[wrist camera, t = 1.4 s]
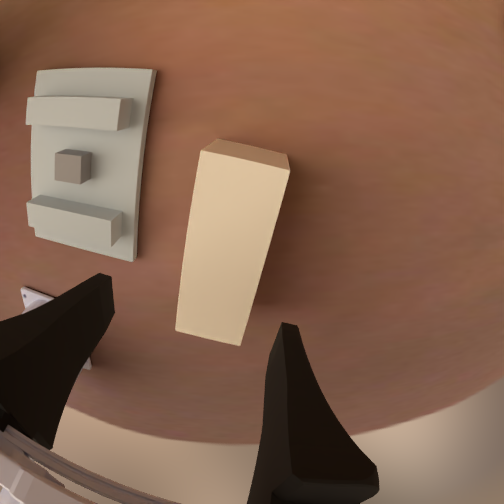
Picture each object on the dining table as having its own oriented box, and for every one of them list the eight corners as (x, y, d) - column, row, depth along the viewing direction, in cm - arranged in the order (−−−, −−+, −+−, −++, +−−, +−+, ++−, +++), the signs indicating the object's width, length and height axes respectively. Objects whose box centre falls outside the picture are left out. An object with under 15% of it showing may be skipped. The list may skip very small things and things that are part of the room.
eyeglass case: (246, 302, 25) (240, 345, 21) (191, 289, 25) (175, 330, 20) (286, 153, 19) (290, 170, 15) (218, 138, 19) (200, 150, 15)
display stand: (136, 257, 23) (123, 274, 21) (40, 232, 23) (23, 245, 21) (157, 70, 17) (141, 67, 15) (43, 70, 17) (22, 71, 14)
